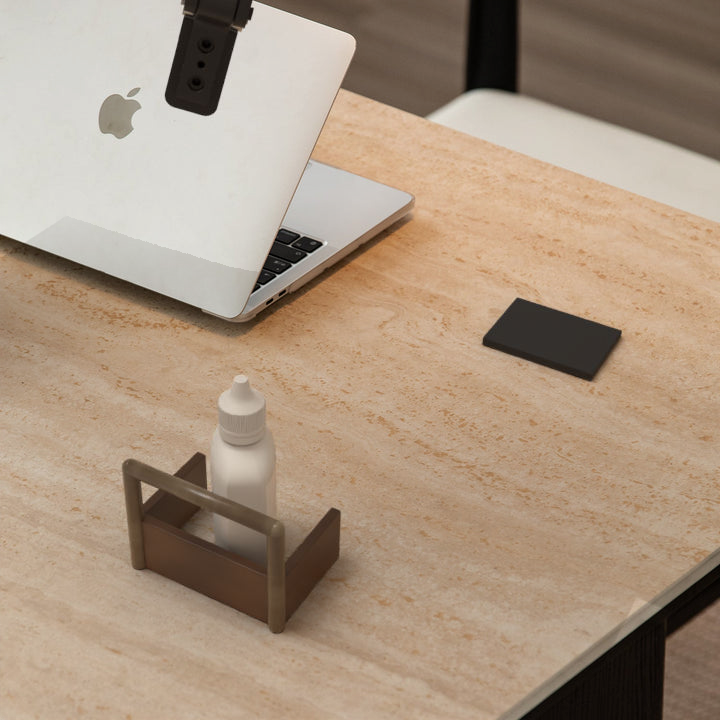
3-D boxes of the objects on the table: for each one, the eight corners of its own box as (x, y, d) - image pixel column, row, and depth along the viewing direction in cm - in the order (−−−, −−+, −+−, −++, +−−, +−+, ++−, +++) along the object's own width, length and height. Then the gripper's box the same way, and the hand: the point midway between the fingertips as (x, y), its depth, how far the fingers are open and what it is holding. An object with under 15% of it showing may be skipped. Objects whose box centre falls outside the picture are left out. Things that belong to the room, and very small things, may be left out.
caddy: (128, 565, 68) (117, 462, 63) (197, 495, 72) (192, 395, 68) (279, 635, 64) (278, 531, 60) (342, 557, 69) (345, 455, 64)
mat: (481, 344, 86) (482, 337, 85) (516, 303, 90) (517, 296, 90) (590, 381, 83) (592, 374, 82) (621, 337, 87) (622, 330, 87)
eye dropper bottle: (303, 530, 70) (304, 360, 63) (258, 597, 66) (254, 422, 59) (234, 507, 72) (228, 338, 65) (186, 572, 68) (174, 398, 60)
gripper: (210, -349, 53) (126, 15, 61) (192, -354, 41) (90, 105, 48) (376, -289, 55) (275, 59, 62) (407, -276, 42) (276, 157, 50)
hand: (194, 79), depth 55 cm, fingers open, 8 cm apart
